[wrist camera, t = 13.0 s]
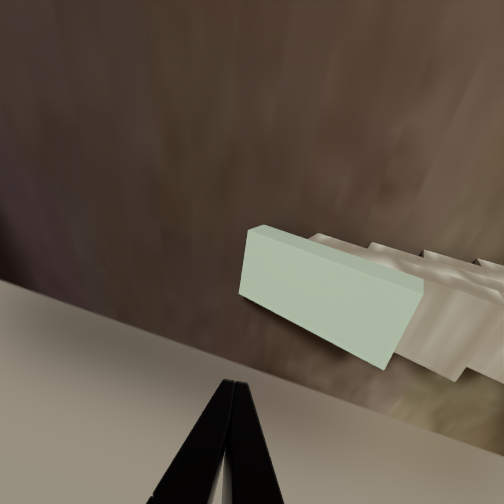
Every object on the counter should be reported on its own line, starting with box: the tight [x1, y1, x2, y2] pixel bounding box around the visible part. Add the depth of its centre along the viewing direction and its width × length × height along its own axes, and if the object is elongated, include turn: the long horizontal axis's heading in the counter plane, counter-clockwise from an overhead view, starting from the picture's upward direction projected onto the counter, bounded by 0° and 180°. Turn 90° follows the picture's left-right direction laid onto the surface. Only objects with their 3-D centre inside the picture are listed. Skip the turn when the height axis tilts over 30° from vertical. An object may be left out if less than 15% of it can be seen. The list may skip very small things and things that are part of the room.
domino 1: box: [239, 225, 424, 370], centre depth 15 cm, size 2×5×10 cm
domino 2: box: [308, 233, 504, 382], centre depth 15 cm, size 2×5×10 cm
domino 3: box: [367, 242, 504, 384], centre depth 15 cm, size 2×5×10 cm
